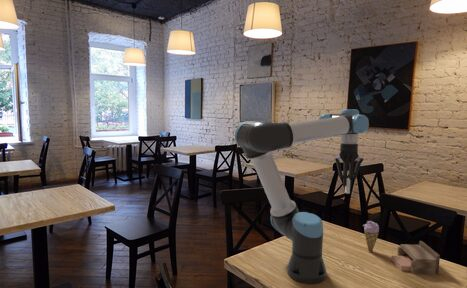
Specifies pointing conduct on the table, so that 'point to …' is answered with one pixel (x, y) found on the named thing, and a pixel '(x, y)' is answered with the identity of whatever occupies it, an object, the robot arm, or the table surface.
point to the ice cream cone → (371, 234)
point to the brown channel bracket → (421, 258)
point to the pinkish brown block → (402, 262)
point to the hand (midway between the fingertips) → (347, 192)
